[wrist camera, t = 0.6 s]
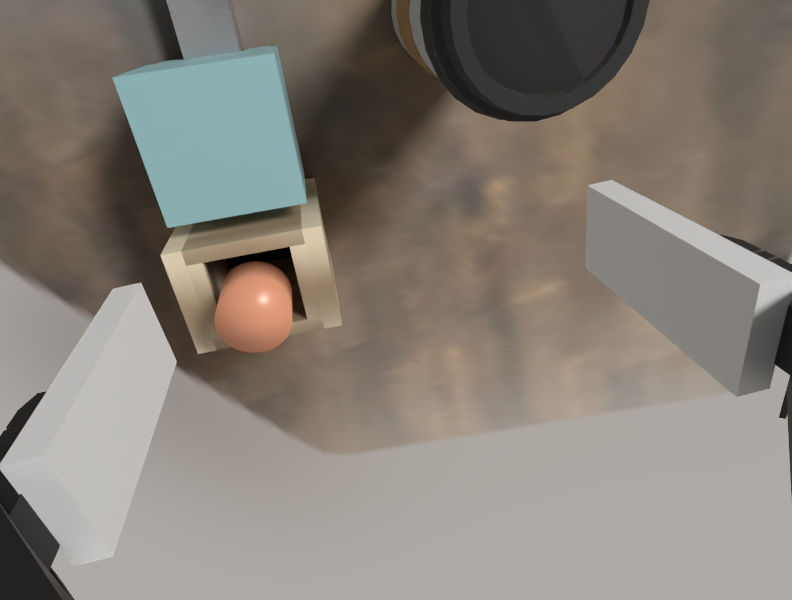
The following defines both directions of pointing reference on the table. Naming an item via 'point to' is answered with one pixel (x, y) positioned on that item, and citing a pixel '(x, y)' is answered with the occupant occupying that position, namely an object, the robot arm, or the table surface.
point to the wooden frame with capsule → (246, 234)
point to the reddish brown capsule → (254, 307)
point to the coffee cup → (520, 50)
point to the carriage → (215, 134)
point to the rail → (205, 27)
